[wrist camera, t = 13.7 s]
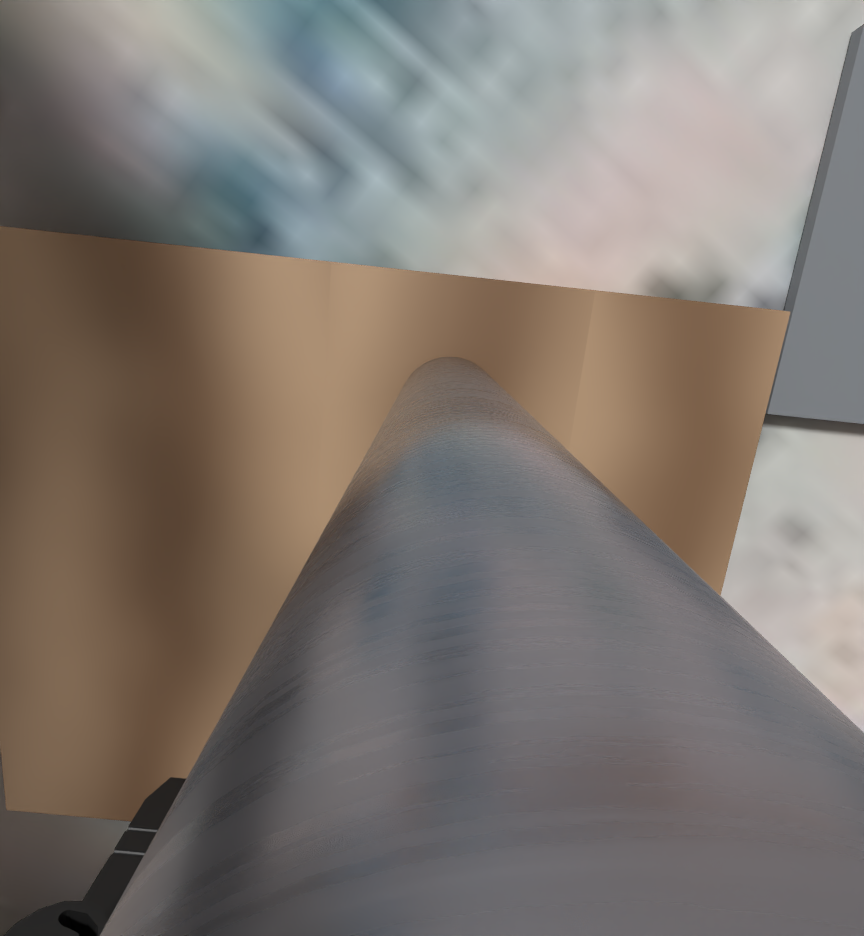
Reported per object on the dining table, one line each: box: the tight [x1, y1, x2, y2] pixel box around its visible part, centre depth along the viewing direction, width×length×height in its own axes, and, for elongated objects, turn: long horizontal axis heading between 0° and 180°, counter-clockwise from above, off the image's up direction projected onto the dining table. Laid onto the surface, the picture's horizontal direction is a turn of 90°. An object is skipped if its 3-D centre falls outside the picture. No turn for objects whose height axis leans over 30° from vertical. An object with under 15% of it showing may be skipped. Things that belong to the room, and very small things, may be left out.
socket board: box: [0, 226, 790, 821], centre depth 16 cm, size 19×16×2 cm
